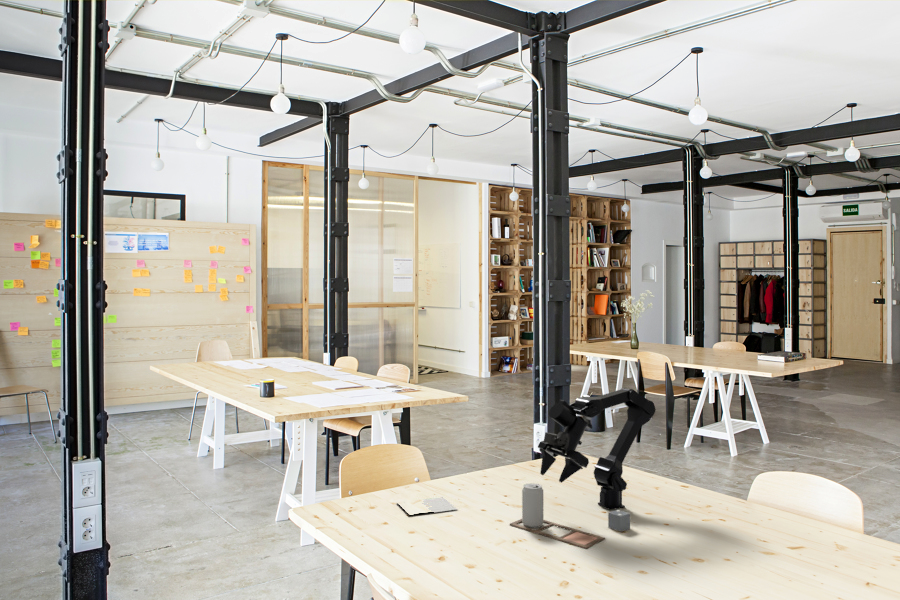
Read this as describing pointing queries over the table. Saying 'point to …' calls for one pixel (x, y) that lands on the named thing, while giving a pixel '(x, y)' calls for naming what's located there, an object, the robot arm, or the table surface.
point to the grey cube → (619, 520)
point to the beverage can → (532, 505)
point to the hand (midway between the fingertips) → (550, 478)
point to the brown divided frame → (566, 535)
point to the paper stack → (438, 504)
